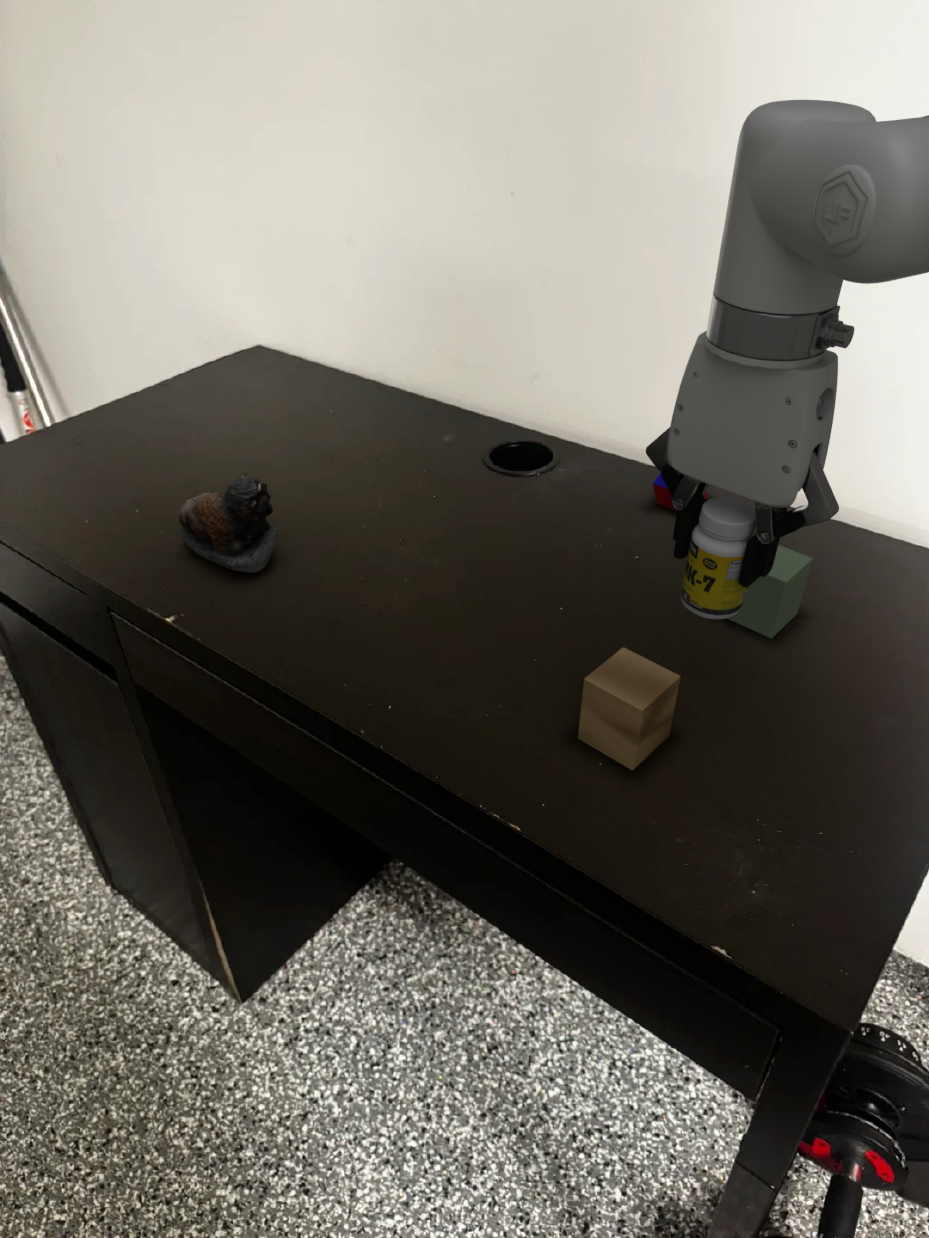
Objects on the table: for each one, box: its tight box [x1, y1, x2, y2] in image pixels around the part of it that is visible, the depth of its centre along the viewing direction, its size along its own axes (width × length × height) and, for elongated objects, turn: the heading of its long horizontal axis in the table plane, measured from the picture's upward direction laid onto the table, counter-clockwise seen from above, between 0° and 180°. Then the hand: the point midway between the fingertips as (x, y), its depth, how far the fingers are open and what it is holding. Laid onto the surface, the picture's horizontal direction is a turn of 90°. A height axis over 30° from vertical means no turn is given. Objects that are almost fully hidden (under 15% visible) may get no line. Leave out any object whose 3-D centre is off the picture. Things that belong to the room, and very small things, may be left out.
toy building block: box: [652, 472, 708, 512], centre depth 94 cm, size 4×4×8 cm
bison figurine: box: [177, 472, 278, 574], centre depth 85 cm, size 12×7×10 cm, turn 50°
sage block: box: [726, 544, 813, 639], centre depth 78 cm, size 5×5×6 cm
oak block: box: [577, 646, 681, 771], centre depth 66 cm, size 5×5×6 cm
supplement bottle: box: [680, 496, 756, 620], centre depth 67 cm, size 5×5×8 cm
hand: (719, 562), depth 68 cm, fingers closed on supplement bottle, 4 cm apart
